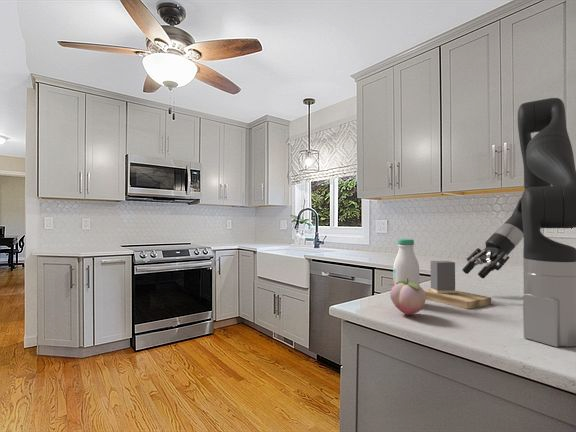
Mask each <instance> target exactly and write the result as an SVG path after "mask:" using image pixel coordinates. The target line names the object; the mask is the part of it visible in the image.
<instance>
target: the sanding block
mask: <svg viewBox="0 0 576 432" xmlns="http://www.w3.org/2000/svg"><path fill="white" fill-rule="evenodd" d="M430 289H431V291H434V292H436V293H455V290H456V262H455V261H451V260H430Z"/></svg>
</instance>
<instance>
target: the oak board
mask: <svg viewBox="0 0 576 432" xmlns="http://www.w3.org/2000/svg"><path fill="white" fill-rule="evenodd" d="M423 290H424V292H425V294H426V300H429V299H430V301H434V302H437V301H438V302H439V303H441V304H446V305H451V306H454V307H457V308H462V309H465V310H468V309H474V308H479V307H484V306H489V305H492V297H490V296H486V295H485V296H484V295H480V294H476V293H471V292H466V291H461V290H456V289H455V293H436V292H434V291H431V288H430V289H423Z"/></svg>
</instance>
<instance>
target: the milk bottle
mask: <svg viewBox="0 0 576 432" xmlns="http://www.w3.org/2000/svg"><path fill="white" fill-rule="evenodd" d="M397 245H398V252H397V254H396V257H395V259H394V262H393V268H392V269H393V270H392V288H393V287H394V286H395V285H396V283H397V282H399V281H406V282H407V278H408V282H409V283H416V284H417V285H419V286H420V287H421V285H420V265H419V264H420V263H419V260H418V259H417V257H416V254H415V252H414V251H415V250H414V247H415V240H414V239H412V238H399V239H398V240H397Z"/></svg>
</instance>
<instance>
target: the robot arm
mask: <svg viewBox="0 0 576 432" xmlns="http://www.w3.org/2000/svg"><path fill="white" fill-rule="evenodd" d="M517 130H518V132H517V133H518V138H519V145H520V152H521V157H522V164H523V188H524V190H523V192H522V194H521V197H520V198H519V200H518V201H517V204H516V206H515V208H514V210H513V212H512V214H511V215H510V217H509V218H508V219H507V220H506V221H505V222H504V223H503V224H502V225H501V226H499V227H498V228H497V229H496V231H495V232H493V233H492V234H491V236H490V237H489V238H488V239H487V240H486V241H485V243H484V245H485V247H484V248H483V249H480V248H479V247H478V248H476V249H475V250H474V251H473V252H472V253H471V254H469V256H468V257H467V258H466V261H467V264H466V265H465V266H464V267H463V268H462V269H461V270H462V272H463V273H464V274H466V275H467V274H468V275H469V273H471V271H472V270H473V269H474V268H475V267H476V266H478V265H482V264H486V265H484V266H483V267H482V268H481V270H479V271H478V273H477V275H478V276H479V278H481V279H485V278H486V277H487V276H488V275H489V274H490V273H491V272H493V271H495V270H496V271H500V270H501V269H502V267H504V265H505V264H506V263H507V262H508V260H510V256H509V255H510V253H511V252H513V250H514V249H515V248H516V247H517V246H518V245H519V244H520V242H522V240H523V248H522V249H523V250H522V251H523V252H522V253H523V255H522V256H523V258H522V259H523V260H522V262H523V264H522V265H523V272H522V273H523V296H522V299H523V301H522V303H523V306H522V309H523V310H522V311H523V312H522V313H523V318H522V319H523V323H522V324H523V338H525V339H528V340H531V341H534V342H537V343H542V344H546V345H549V346H552V347H556V348H558V347H576V247H574V246H571V245H569V244H564V243H561V242H558V241H556V240H553V239H551V238H549V237H547V236H546V235H544V234H543V233H542V232H541V229H574V228H576V164H575V157H574V151H573V146H572V143H571V140H570V137H569V132H568V129H567V117H566V107H565V104H564V102H563V100H562V99H561V98H559V97H550V98H545V99H539V100H534V101H533V100H531V101H528V102H523V103H521V104H520V105H519V108H518V110H517ZM533 133H536V134H535V135H534V136H533V137H532V134H533Z"/></svg>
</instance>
